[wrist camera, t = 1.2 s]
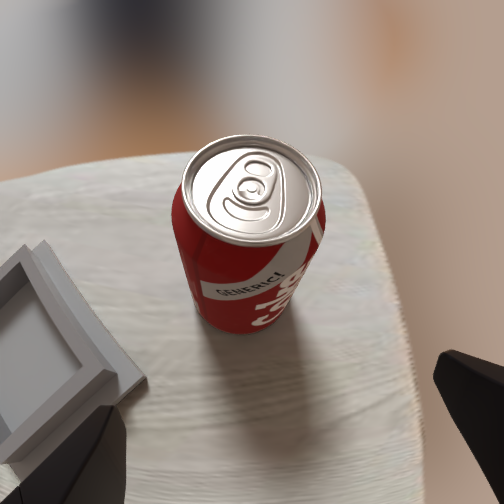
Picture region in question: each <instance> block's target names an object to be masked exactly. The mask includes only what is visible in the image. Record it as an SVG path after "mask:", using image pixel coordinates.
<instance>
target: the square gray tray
mask: <svg viewBox="0 0 504 504" xmlns="http://www.w3.org/2000/svg"><path fill="white" fill-rule="evenodd" d="M145 378H146V376H145V375H144V374H143V372H142V371H141V370H140V369H139V368H138V367H137V366H136V364H135V363H134V362H133V361H132V360H131V358H130V357H129V356H128V355H127V354H126V352H125V351H124V350H123V349H122V348H121V346H120V345H119V344H118V343H117V341H116V340H115V339H114V338H113V336H112V335H111V334H110V333H109V331H108V330H107V329H106V327H105V326H104V325H103V323H102V322H101V321H100V320H99V318H98V317H97V316H96V314H95V313H94V311H93V310H92V309H91V307H90V306H89V305H88V303H87V302H86V300H85V299H84V298H83V296H82V295H81V293H80V292H79V290H78V289H77V287H76V286H75V285H74V283H73V282H72V280H71V279H70V277H69V276H68V274H67V273H66V271H65V269H64V268H63V266H62V265H61V263H60V262H59V260H58V258H57V257H56V255H55V254H54V252H53V250H52V249H51V247H50V245H49V244H48V243H47V242H46V241H45V240H43V241H42V242H41V243H40V244H39V245H38V246H37V247H35V248H34V249H33V250H32V251H31V250H30V249H29V248H28V247H27V246H26V245H25V244H24V245H23V246H22V247H21V248H20V249H19V250H18V251H17V252H16V253H14V254H13V255H12V256H11V257H10V258H9V259H8V260H7V261H6V262H5V263H4V264H3V265H2V266H1V267H0V464H8V463H9V465H10V466H11V468H12V469H13V471H14V472H15V474H16V475H17V476H18V478H19V479H20V481H21V482H22V481H23V480H24V479H25V478H26V477H27V476H28V475H29V474H30V473H31V472H32V471H34V470H35V469H36V468H37V467H38V466H39V465H40V464H41V463H42V462H43V461H44V460H45V459H46V458H47V457H48V456H49V455H50V454H51V453H52V452H53V451H54V450H55V449H56V448H57V447H58V446H59V445H60V444H61V443H62V442H63V441H64V440H65V439H66V438H67V437H68V436H69V435H70V434H71V433H72V432H73V431H74V430H75V429H76V428H77V427H78V426H79V425H80V424H81V423H82V422H83V421H84V420H85V419H86V418H87V417H88V416H89V415H90V414H91V413H92V412H93V411H94V410H95V409H96V408H97V407H98V406H99V405H102V404H109V405H116V404H117V403H118V402H120V401H121V400H122V399H123V398H124V397H125V396H126V395H127V394H128V393H130V392H131V391H132V390H133V389H134V388H135V387H136V386H137V385H138V384H140V383H141V382H142V381H143V380H144V379H145Z"/></svg>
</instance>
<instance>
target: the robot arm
mask: <svg viewBox="0 0 504 504" xmlns="http://www.w3.org/2000/svg"><path fill="white" fill-rule="evenodd" d="M433 379H434V382H435V384H436V386H437V388H438V390H439V392H440V394H441V397H442V398H443V401H444V403H445V405H446V407H447V409H448V411H449V413H450V415H451V417H452V419H453V421H454V422H455V424H456V426H457V428H458V429H459V431H460V433H461V434H462V436H463V438H464V439H465V441H466V443H467V445H468V446H469V448H470V450H471V452H472V453H473V455H474V457H475V459H476V460H477V462H478V464H479V466H480V468H481V469H482V471H483V473H484V475H485V477H486V479H487V480H488V482H489V484H490V486H491V488H492V490H493V492H494V494H495V496H496V498H497V500H498V502H499V504H504V367H503V366H500V365H497V364H494V363H491V362H488V361H485V360H482V359H479V358H476V357H473V356H470V355H467V354H464V353H461V352H459V351H455V350H447V351H445V352H442V353H441V354H440V355H439V357H438V360H437V364H436V367H435V370H434V373H433ZM19 486H20V487H19ZM19 486H17V487H16V488H15V489H14V490H13V491H12V492H11V493H10V494H9V495H8V496H7V497H6V498H5V499H4V500H3V501H2V502H1V503H0V504H124V499H125V489H126V427H125V424H124V422H123V420H122V418H121V415H120V413H119V411H118V408H117V407H116V406H115V405H109V404H102V405H99V406H98V407H97V408H96V409H95V410H94V411H93V412H92V413H91V414H90V415H89V416H88V417H87V418H86V419H85V420H84V421H83V422H82V423H81V424H80V425H79V426H78V427H77V428H76V429H75V430H74V431H73V432H72V433H71V434H70V435H69V436H68V437H67V438H66V439H65V440H64V441H63V442H62V443H61V444H60V445H59V446H58V447H57V448H56V449H55V450H54V451H53V452H52V453H51V454H50V455H49V456H48V457H47V458H46V459H45V460H44V461H43V462H42V463H41V464H40V465H39V466H38V467H37V468H36V469H35V470H34V471H32V472H31V473H30V474H29V475H28V476H27V477H26V478H25V479H24V480H23V481H22V482H21V483H20V485H19Z"/></svg>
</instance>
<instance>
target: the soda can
mask: <svg viewBox="0 0 504 504" xmlns="http://www.w3.org/2000/svg"><path fill="white" fill-rule="evenodd" d="M171 216H172V225H173V230H174V234H175V238H176V241H177V245H178V249H179V252H180V256H181V260H182V263H183V267H184V270H185V274H186V277H187V281H188V284H189V288H190V291H191V294H192V298H193V301H194V304H195V306H196V308H197V310H198V312H199V313H200V315H201V316H202V317H203V318H204V319H205V320H206V321H207V322H208V323H209V324H210V325H212V326H213V327H215V328H217V329H219V330H221V331H224V332H226V333H231V334H239V335H243V334H252V333H255V332H258V331H261V330H263V329H265V328H267V327H268V326H270V325H271V324H273V323H274V322H275V321H276V320H277V319H278V318H279V316H280V315H281V314H282V312H283V311H284V309H285V307H286V305H287V303H288V302H289V300H290V298H291V296H292V295H293V293H294V291H295V289H296V287H297V286H298V284H299V282H300V280H301V278H302V276H303V275H304V273H305V271H306V269H307V267H308V265H309V264H310V262H311V260H312V258H313V256H314V254H315V252H316V251H317V249H318V247H319V245H320V243H321V240H322V238H323V235H324V230H325V223H326V216H325V208H324V204H323V201H322V187H321V182H320V178H319V176H318V173H317V171H316V169H315V168H314V166H313V165H312V163H311V162H310V161H309V160H308V159H307V158H306V157H305V156H304V155H303V154H302V153H301V152H300V151H298V150H297V149H295V148H294V147H292V146H290V145H289V144H287V143H285V142H282V141H280V140H277V139H274V138H271V137H266V136H261V135H235V136H230V137H226V138H222V139H219V140H217V141H214V142H212V143H210V144H209V145H207V146H205V147H204V148H202V149H201V150H200V151H198V152H197V153H196V154H195V155H194V156H193V157H192V159H191V160H190V161H189V163H188V165H187V166H186V168H185V171H184V174H183V177H182V182H181V184H180V186H179V187H178V189H177V191H176V194H175V196H174V200H173V204H172V213H171Z"/></svg>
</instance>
